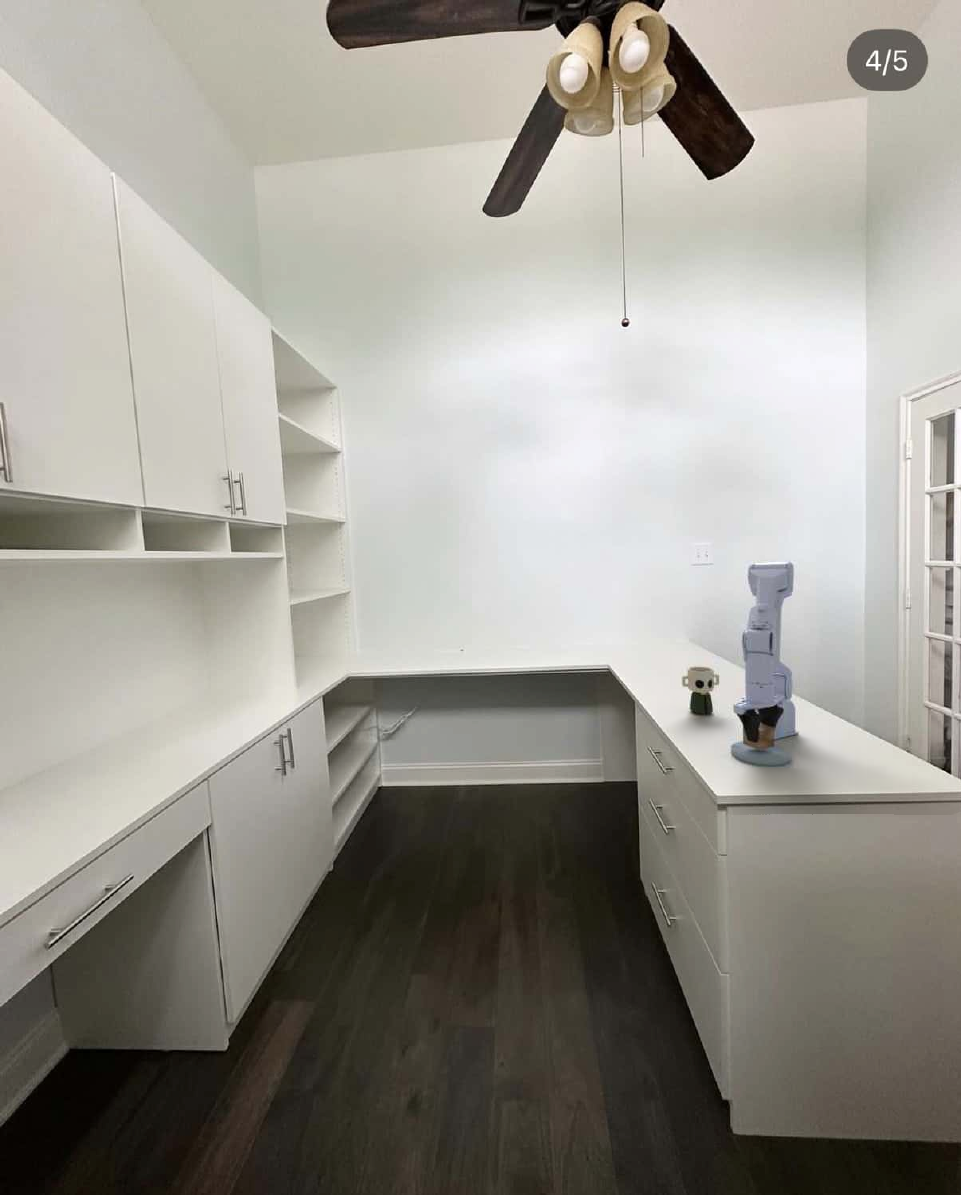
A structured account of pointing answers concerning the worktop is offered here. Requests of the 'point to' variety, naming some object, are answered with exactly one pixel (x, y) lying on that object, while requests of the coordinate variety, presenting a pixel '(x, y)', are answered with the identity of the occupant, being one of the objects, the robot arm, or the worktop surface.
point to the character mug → (700, 688)
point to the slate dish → (761, 755)
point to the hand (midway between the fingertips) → (759, 739)
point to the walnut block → (761, 738)
